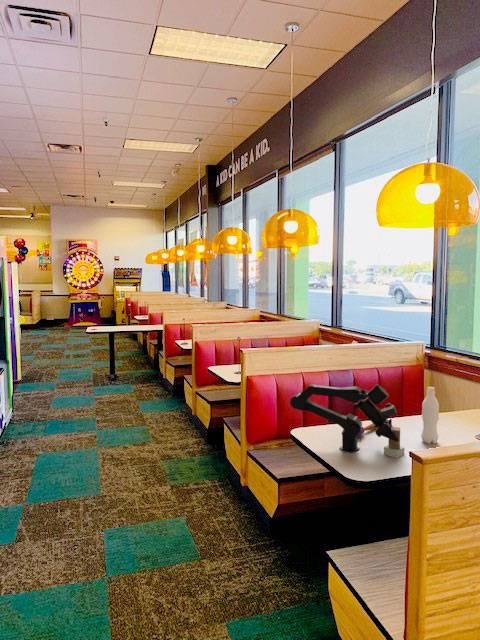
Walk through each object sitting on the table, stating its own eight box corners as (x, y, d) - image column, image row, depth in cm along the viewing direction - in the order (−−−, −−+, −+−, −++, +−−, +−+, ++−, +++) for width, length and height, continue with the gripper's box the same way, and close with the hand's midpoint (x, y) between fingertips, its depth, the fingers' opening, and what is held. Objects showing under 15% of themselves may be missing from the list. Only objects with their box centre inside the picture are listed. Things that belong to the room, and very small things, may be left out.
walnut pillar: (388, 448, 201) (388, 429, 200) (388, 444, 205) (389, 426, 205) (399, 449, 200) (400, 430, 199) (399, 445, 204) (400, 427, 203)
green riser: (396, 457, 199) (396, 450, 198) (383, 454, 203) (383, 447, 203) (404, 454, 203) (404, 447, 202) (391, 450, 207) (391, 443, 207)
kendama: (381, 422, 234) (359, 429, 219) (378, 434, 235) (357, 441, 220) (371, 418, 238) (348, 424, 223) (368, 429, 239) (346, 435, 224)
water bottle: (439, 441, 218) (441, 386, 216) (436, 445, 212) (437, 390, 210) (423, 438, 222) (424, 384, 220) (419, 442, 216) (420, 388, 214)
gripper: (384, 404, 193) (413, 434, 191) (385, 393, 211) (412, 420, 208) (364, 422, 196) (392, 451, 194) (366, 410, 214) (392, 436, 212)
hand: (397, 439), depth 202 cm, fingers closed on walnut pillar, 4 cm apart
